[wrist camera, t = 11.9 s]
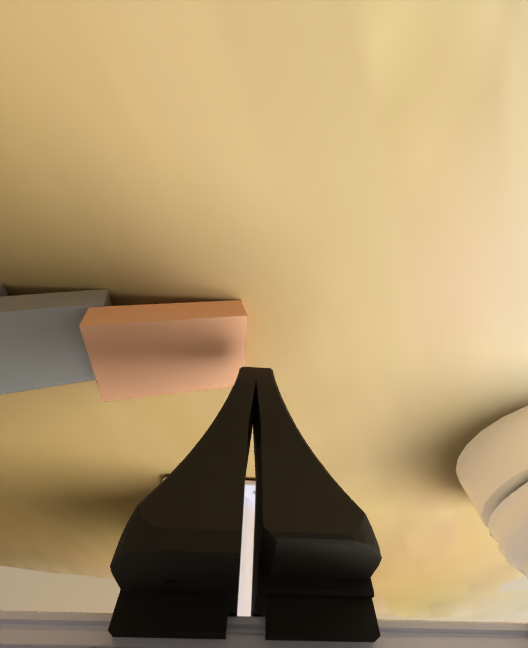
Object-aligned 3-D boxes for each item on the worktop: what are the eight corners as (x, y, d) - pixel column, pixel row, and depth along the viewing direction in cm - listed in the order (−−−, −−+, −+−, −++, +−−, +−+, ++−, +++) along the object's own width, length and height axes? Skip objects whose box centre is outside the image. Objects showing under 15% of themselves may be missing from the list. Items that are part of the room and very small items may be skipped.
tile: (243, 384, 16) (103, 401, 14) (238, 365, 17) (109, 379, 15) (247, 315, 13) (79, 325, 12) (241, 299, 15) (89, 307, 13)
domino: (122, 375, 15) (-41, 401, 13) (125, 357, 17) (-25, 378, 15) (103, 303, 13) (-99, 320, 11) (107, 288, 14) (-72, 302, 12)
